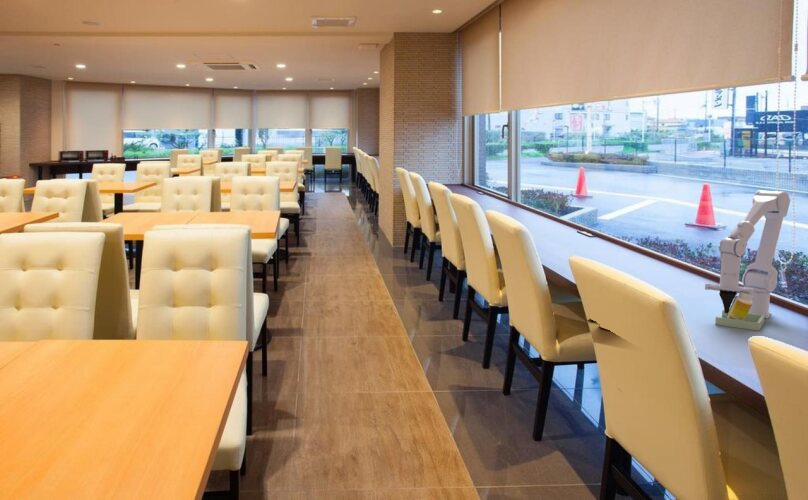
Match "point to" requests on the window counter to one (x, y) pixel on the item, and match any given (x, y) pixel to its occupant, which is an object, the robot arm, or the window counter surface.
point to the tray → (742, 321)
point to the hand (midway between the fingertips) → (726, 312)
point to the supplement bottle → (740, 306)
